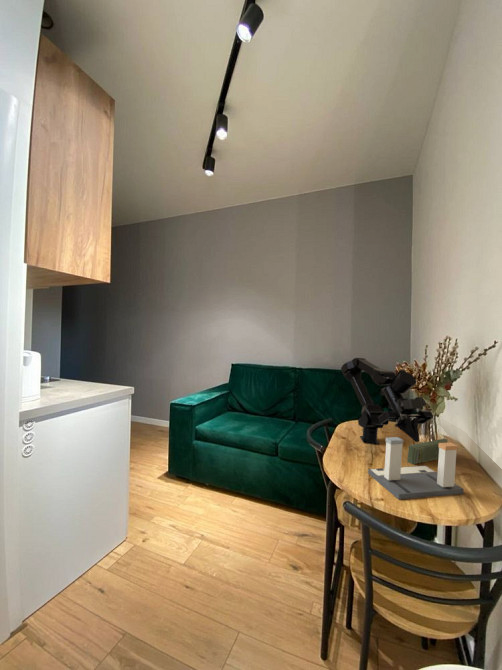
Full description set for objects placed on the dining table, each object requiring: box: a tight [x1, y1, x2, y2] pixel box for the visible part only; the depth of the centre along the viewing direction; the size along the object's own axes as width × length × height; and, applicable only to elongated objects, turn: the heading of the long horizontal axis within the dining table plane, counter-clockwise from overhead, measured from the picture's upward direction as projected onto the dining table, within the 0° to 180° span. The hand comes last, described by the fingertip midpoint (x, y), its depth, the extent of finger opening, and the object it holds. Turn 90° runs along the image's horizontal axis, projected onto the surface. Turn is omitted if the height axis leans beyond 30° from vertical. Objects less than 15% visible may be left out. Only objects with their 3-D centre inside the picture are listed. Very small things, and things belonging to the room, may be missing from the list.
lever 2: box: [437, 442, 459, 487], centre depth 80 cm, size 2×4×12 cm, turn 102°
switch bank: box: [367, 465, 465, 500], centre depth 84 cm, size 14×22×2 cm, turn 102°
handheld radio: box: [406, 438, 449, 465], centre depth 102 cm, size 7×3×25 cm
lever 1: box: [384, 436, 404, 480], centre depth 82 cm, size 2×4×12 cm, turn 102°
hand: (417, 441), depth 91 cm, fingers closed
